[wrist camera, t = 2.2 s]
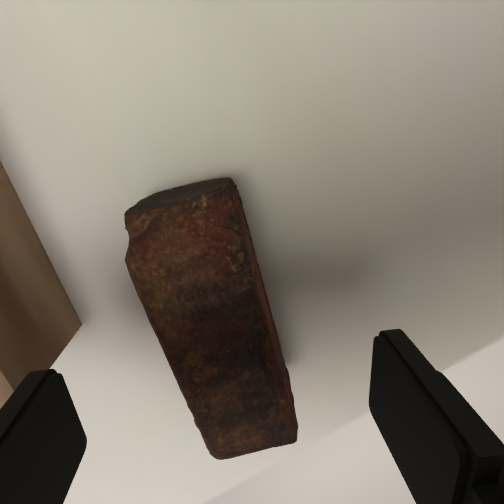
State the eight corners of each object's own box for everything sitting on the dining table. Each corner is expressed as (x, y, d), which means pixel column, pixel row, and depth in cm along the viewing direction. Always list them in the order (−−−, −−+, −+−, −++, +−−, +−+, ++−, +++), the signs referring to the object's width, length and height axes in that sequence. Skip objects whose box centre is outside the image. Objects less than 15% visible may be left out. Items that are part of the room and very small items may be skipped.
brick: (287, 365, 17) (305, 446, 13) (216, 381, 18) (210, 467, 13) (234, 168, 13) (234, 192, 9) (143, 193, 14) (99, 228, 9)
